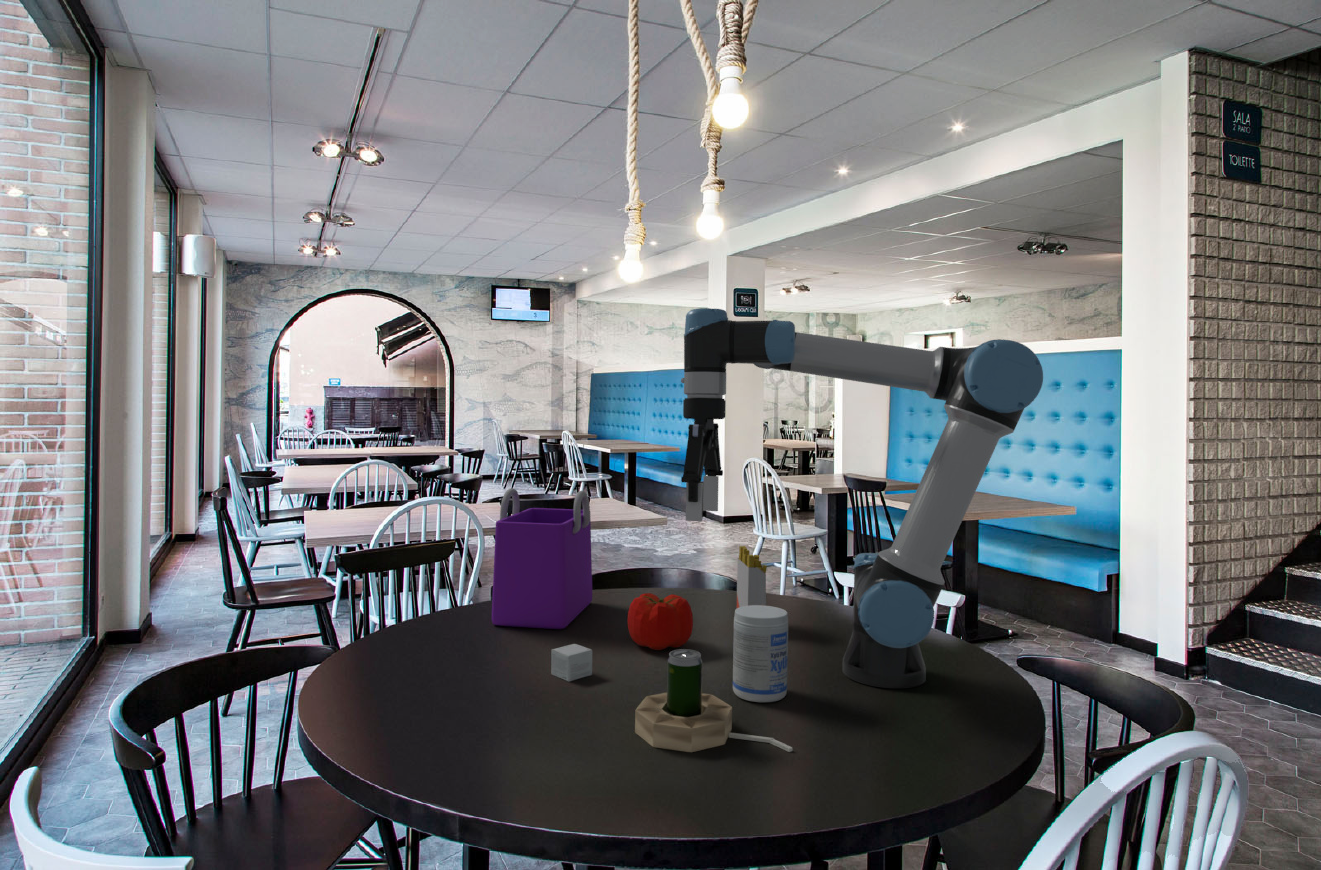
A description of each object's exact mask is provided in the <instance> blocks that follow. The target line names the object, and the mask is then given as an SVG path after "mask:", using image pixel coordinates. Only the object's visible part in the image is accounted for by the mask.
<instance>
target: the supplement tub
mask: <svg viewBox="0 0 1321 870" xmlns="http://www.w3.org/2000/svg"><path fill="white" fill-rule="evenodd" d="M788 615H789V613H788V611H786V610H785V609H783V608H780V607H777V606H771V605H766V606H764V605H749V606H742V607H739V608H737V607H736V609H735V610H734V617H733V644H732V645H733V649H732V650H733V651H732V653H733V656H732V659H733V660H732V691H733V693H734V694H735V695H736V697H738V698H740V699H741V700H744V701H747V702H755V703H773V702H777V701H780V700H783V699H784V698H785V696H786V695H787V692H788V691H787V690H788V663H789V661H788V659H789V658H788V656H789V655H788V654H789V651H788V650H789V618H788V617H789V616H788Z"/></svg>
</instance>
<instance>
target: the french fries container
mask: <svg viewBox="0 0 1321 870" xmlns="http://www.w3.org/2000/svg"><path fill="white" fill-rule="evenodd" d="M738 552H739V554H738V557H737V562H736V563H737V565H736V566H737V568H736V570H737V571H736V573H737V575H736V609H737V608H739V607H742V606H749V605H764V606H767V574H766V573H767V570H768V569H767V568H768V566H767V564H766V565H765V564H762V560H760V555H759V554H750V549H748V548H747V546H745V545H739V551H738Z"/></svg>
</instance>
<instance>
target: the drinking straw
mask: <svg viewBox="0 0 1321 870" xmlns="http://www.w3.org/2000/svg"><path fill="white" fill-rule="evenodd" d="M728 738H729V739H738V740H746V741H754V742H760V743H769V744H770V745H773V746H775V747H777V748H779V749H782V750H783V751H786V752H789V753H792V752H793V746H790V745H789V744H788V745H787V744H786V743H784V742H781V741H779V740H777V739H775V737H767V736H761V735H759V736H758V735H751V734H745V733H736V732H729V735H728Z"/></svg>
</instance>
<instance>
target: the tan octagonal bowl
mask: <svg viewBox="0 0 1321 870" xmlns="http://www.w3.org/2000/svg"><path fill="white" fill-rule="evenodd" d="M634 711H635V713H634V716H635V717H634V718H635V720H634V721H635V722H634V733H635V734H636V735H638V736H639V737H640V738H641V739H642V740H644V741H645V742H646V743H647V744H649V745H650V746H651V747H652V748H656V749H657V748H659V749H664V750H672V751H679V752H686V753H693V752H698V751H702V750H703V751H704V750H706V749H711V748H716V747H720V746H723V745H724V746H725V744H726V743H727V740H728V738H729V737H728V735H729V732H730V733H732V729H733V728H732V727H733V725H732V724H733V706H731V705H730V704H728V703H727V702H725V701H723V700H722V699H720V698H719V697H717V696H715V695H713V694H711V693H710V694H709V693H703V692H702V712H701V715H697V716H692V717H680V716H672V715H669V714H668V713H667V692H662V693H657V694H652V695H646V696H645V697H644V699H643V700H642V701H641V702H640V703H639V705H637V707H636V709H635V710H634Z"/></svg>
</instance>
